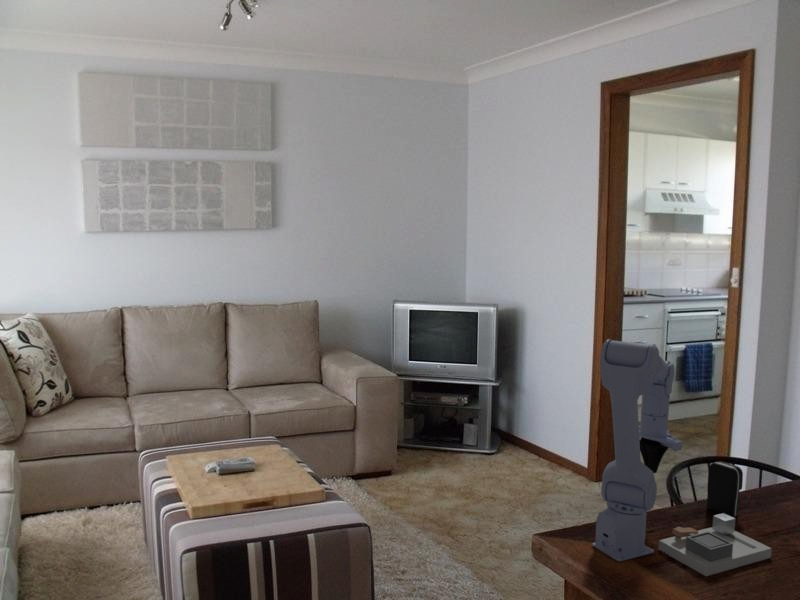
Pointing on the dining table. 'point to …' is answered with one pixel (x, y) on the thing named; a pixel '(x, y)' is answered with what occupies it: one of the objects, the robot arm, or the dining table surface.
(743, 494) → the dining table surface
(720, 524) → the slider knob
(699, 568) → the control panel
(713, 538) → the push button
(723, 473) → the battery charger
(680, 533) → the rocker switch
